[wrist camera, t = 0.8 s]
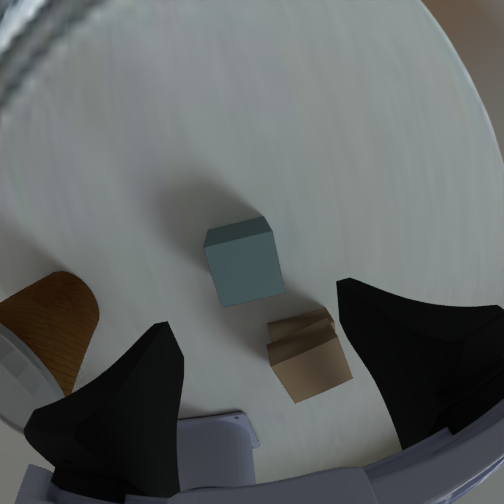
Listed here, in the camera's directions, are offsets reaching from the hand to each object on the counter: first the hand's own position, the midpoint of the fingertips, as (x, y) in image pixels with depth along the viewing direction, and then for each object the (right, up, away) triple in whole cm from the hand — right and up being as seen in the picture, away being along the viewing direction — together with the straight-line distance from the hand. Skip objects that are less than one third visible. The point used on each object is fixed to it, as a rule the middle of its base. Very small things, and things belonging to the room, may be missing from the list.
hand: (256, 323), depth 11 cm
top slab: (+4, -5, +10) cm, 12 cm away
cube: (-1, +3, +9) cm, 10 cm away
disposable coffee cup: (-16, -2, +9) cm, 19 cm away
